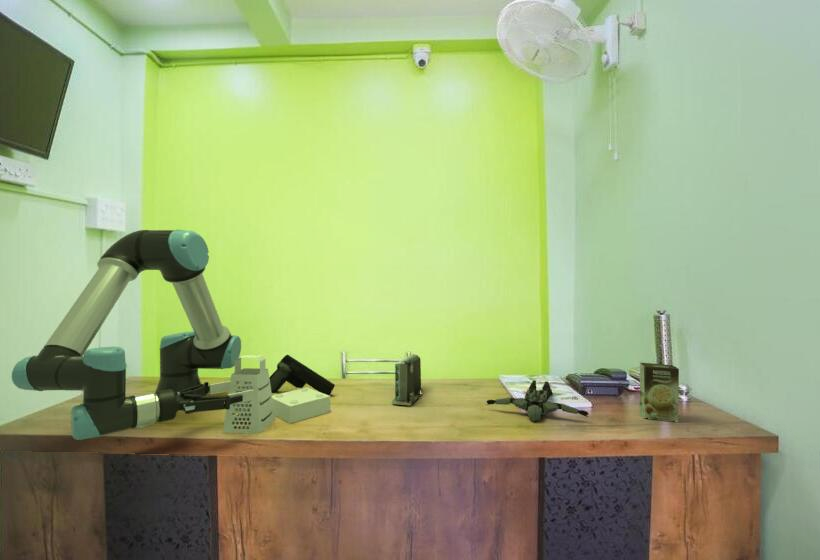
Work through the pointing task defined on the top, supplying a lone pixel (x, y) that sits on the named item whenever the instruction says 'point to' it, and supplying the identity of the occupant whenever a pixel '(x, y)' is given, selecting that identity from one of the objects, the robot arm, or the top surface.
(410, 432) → the top surface
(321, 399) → the pedestal
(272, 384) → the handgun
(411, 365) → the radio
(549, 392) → the toy
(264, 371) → the grater
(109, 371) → the robot arm
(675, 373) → the coffee box
